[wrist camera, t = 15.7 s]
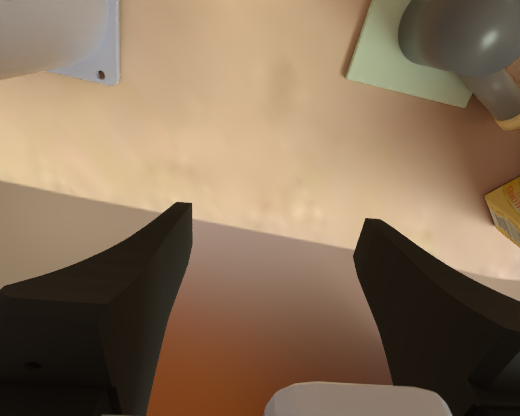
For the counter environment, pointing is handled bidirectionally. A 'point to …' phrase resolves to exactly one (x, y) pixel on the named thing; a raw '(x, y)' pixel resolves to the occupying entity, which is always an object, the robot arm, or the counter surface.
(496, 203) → the candy box
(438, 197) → the counter surface
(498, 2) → the grey tapered rounded piece
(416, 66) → the plate
